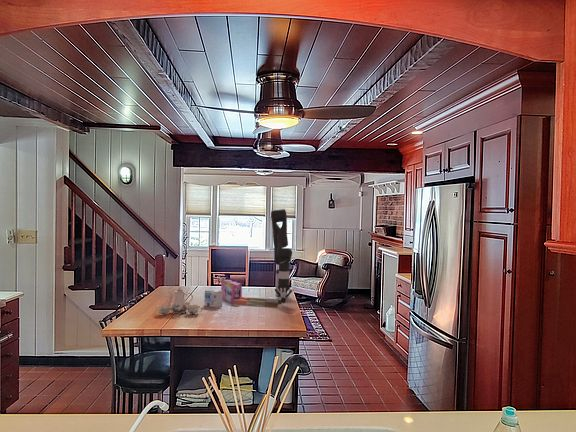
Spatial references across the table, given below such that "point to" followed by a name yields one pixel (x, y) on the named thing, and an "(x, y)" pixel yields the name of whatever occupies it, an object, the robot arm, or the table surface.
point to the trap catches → (242, 300)
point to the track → (261, 303)
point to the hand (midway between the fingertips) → (283, 302)
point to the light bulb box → (213, 298)
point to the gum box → (231, 289)
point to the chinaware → (178, 304)
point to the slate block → (272, 299)
